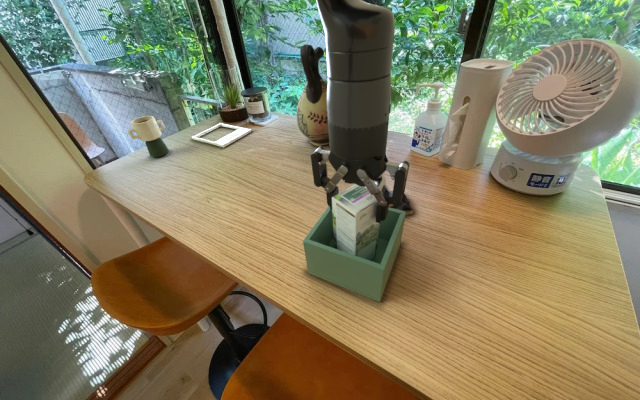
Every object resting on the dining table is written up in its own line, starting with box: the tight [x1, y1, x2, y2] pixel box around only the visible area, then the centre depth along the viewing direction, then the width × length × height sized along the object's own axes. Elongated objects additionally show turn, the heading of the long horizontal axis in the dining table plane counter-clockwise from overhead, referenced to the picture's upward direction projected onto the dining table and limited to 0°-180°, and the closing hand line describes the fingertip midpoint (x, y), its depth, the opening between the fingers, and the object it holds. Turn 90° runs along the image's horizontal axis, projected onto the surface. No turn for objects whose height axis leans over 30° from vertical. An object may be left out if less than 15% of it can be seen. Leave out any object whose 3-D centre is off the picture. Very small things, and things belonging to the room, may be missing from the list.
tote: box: [302, 205, 407, 303], centre depth 46 cm, size 14×14×9 cm
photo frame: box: [191, 122, 252, 148], centre depth 100 cm, size 15×1×18 cm
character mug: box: [127, 115, 170, 158], centre depth 88 cm, size 11×7×13 cm, turn 137°
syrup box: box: [332, 184, 380, 260], centre depth 44 cm, size 6×6×14 cm
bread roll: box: [389, 190, 414, 216], centre depth 59 cm, size 11×8×4 cm
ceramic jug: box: [296, 43, 329, 147], centre depth 80 cm, size 17×15×30 cm
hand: (356, 213), depth 41 cm, fingers closed on syrup box, 7 cm apart
